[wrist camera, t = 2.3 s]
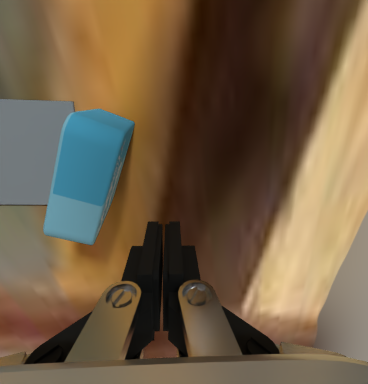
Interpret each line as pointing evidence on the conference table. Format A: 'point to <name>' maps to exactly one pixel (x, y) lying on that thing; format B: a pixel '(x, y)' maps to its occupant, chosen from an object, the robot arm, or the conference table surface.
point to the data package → (86, 174)
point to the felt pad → (29, 148)
